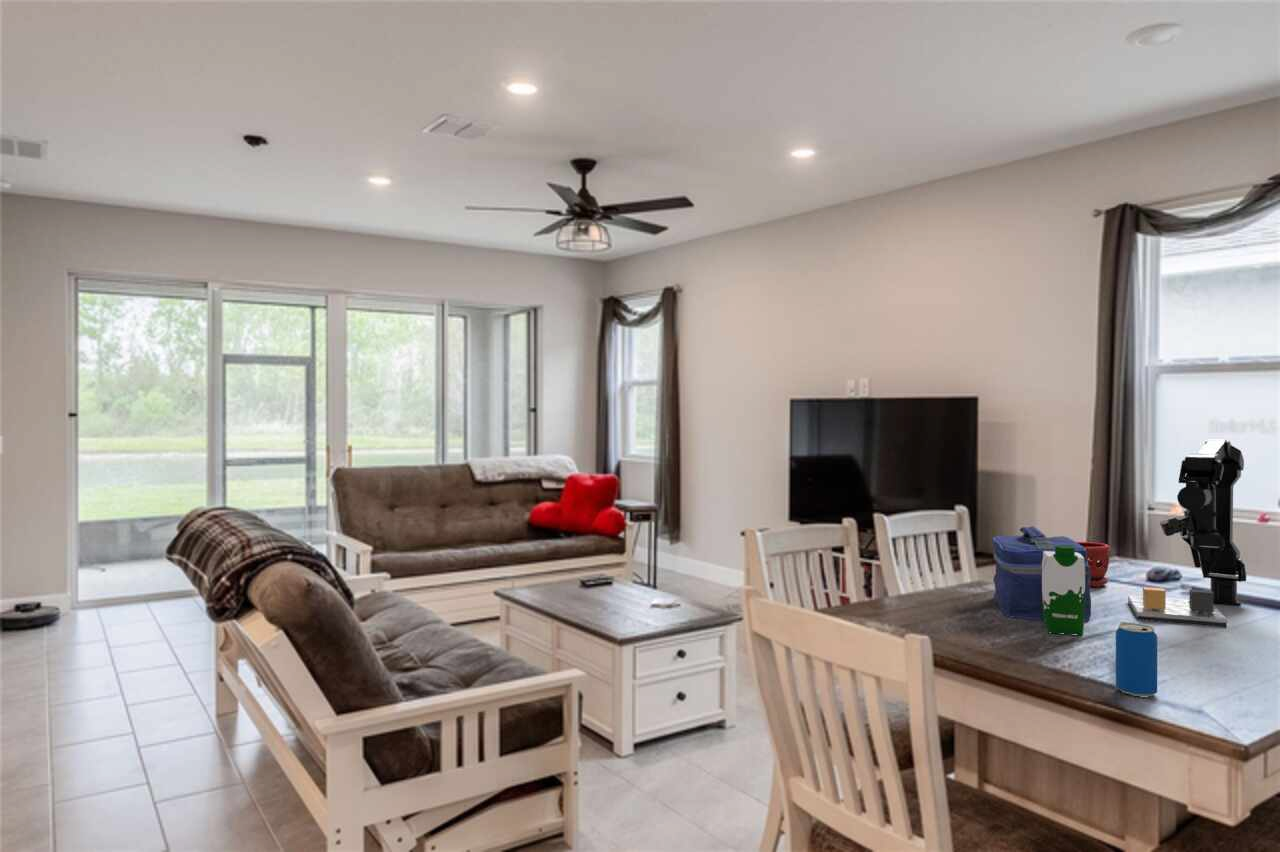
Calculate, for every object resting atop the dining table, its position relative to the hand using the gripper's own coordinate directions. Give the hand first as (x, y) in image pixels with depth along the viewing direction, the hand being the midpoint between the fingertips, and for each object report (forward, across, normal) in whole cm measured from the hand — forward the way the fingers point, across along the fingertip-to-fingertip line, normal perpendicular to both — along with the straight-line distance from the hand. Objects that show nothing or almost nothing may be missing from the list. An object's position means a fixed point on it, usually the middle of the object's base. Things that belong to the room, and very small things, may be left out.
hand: (1201, 570), depth 201 cm
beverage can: (+12, +66, -21) cm, 70 cm away
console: (+12, -4, -5) cm, 14 cm away
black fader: (+11, 0, 0) cm, 11 cm away
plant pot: (+12, -36, -23) cm, 44 cm away
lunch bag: (+12, +2, -36) cm, 38 cm away
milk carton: (+12, +24, -31) cm, 41 cm away
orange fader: (+11, +1, -10) cm, 15 cm away
